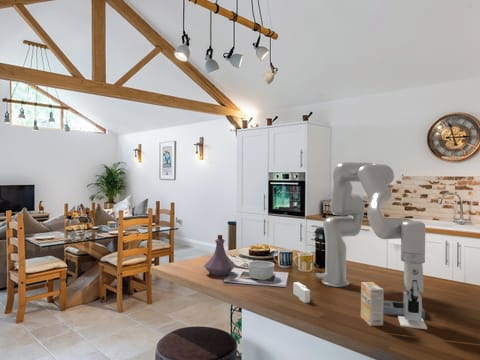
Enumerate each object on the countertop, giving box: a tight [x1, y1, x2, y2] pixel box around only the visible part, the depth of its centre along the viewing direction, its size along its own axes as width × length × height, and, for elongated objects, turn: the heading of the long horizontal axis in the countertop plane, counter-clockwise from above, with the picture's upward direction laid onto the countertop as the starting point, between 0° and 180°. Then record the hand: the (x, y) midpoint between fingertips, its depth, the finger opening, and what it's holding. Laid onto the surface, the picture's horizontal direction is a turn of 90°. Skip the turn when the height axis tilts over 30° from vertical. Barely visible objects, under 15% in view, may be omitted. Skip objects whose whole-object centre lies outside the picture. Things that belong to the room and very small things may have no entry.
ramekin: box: [247, 260, 275, 279], centre depth 181 cm, size 13×13×7 cm
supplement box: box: [360, 281, 385, 327], centre depth 126 cm, size 8×5×13 cm, turn 5°
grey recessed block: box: [383, 300, 426, 320], centre depth 134 cm, size 14×8×3 cm, turn 73°
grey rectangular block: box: [402, 291, 423, 321], centre depth 125 cm, size 5×5×8 cm
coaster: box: [397, 316, 428, 330], centre depth 125 cm, size 8×8×1 cm
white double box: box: [292, 281, 311, 304], centre depth 151 cm, size 15×11×6 cm
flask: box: [203, 234, 236, 277], centre depth 187 cm, size 16×16×20 cm
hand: (412, 309), depth 125 cm, fingers closed on grey rectangular block, 4 cm apart
